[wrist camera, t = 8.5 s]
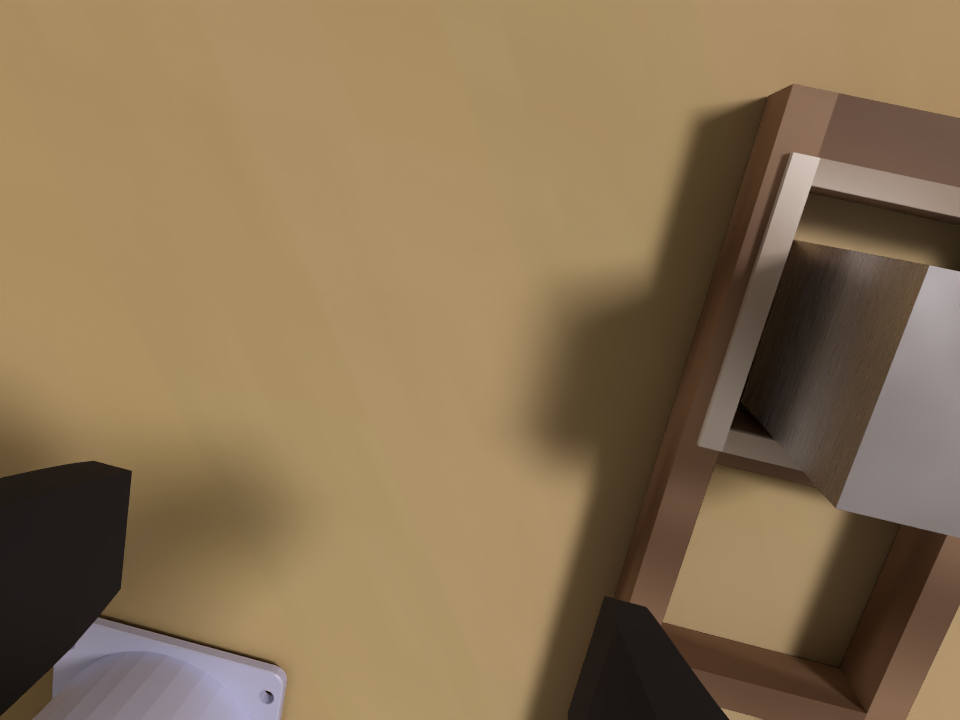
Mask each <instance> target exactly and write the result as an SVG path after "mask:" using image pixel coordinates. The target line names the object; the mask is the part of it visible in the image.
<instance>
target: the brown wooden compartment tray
mask: <svg viewBox="0 0 960 720" xmlns="http://www.w3.org/2000/svg"><path fill="white" fill-rule="evenodd" d="M809 192H810V193H814V194H819V195H824V196H828V197H833V198H837V199H842V200H847V201H851V202H856V203H861V204H865V205H870V206H875V207H879V208H884V209H888V210H893V211H898V212H902V213H907V214H912V215H916V216H921V217H925V218H930V219H935V220H939V221H944V222H949V223H953V224H958V225H960V118H956V117H951V116H946V115H941V114H937V113H932V112H927V111H922V110H917V109H912V108H908V107H903V106H898V105H893V104H888V103H883V102H879V101H874V100H869V99H864V98H859V97H854V96H850V95H845V94H840V93H835V92H830V91H825V90H821V89H816V88H811V87H806V86H801V85H796V84H792V85H790V86H788V87H786V88H784V89H782V90H780V91H778V92H775V93H773V94H771V95H769V96H768V99H767V102H766V105H765V108H764V112H763V115H762V118H761V121H760V125H759V128H758V131H757V134H756V138H755V141H754V144H753V147H752V151H751V154H750V157H749V160H748V164H747V167H746V170H745V173H744V177H743V180H742V183H741V186H740V190H739V193H738V196H737V199H736V203H735V206H734V209H733V212H732V216H731V219H730V222H729V225H728V229H727V232H726V235H725V238H724V242H723V245H722V248H721V251H720V255H719V258H718V261H717V264H716V268H715V271H714V274H713V277H712V281H711V284H710V287H709V290H708V294H707V297H706V300H705V303H704V307H703V310H702V313H701V316H700V320H699V323H698V326H697V329H696V333H695V336H694V339H693V342H692V346H691V349H690V352H689V355H688V359H687V362H686V365H685V368H684V372H683V375H682V378H681V381H680V385H679V388H678V391H677V394H676V398H675V401H674V404H673V407H672V411H671V414H670V417H669V420H668V424H667V427H666V430H665V433H664V437H663V440H662V443H661V446H660V450H659V453H658V456H657V459H656V463H655V466H654V469H653V472H652V476H651V479H650V482H649V485H648V489H647V492H646V495H645V498H644V502H643V505H642V508H641V511H640V515H639V518H638V521H637V524H636V528H635V531H634V534H633V537H632V541H631V544H630V547H629V550H628V554H627V557H626V560H625V563H624V567H623V570H622V573H621V576H620V580H619V583H618V586H617V589H616V593H615V596H614V599H618V600H622V601H626V602H630V603H633V604H637V605H641V606H645V607H647V608H648V609H649V611H650V612H651V613H652V614H653V616H654V617H655V618H656V620H657V621H658V623H659V624H660V625H661V627H662V628H663V630H664V631H665V632H666V634H667V635H668V637H669V638H670V639H671V641H672V642H673V644H674V645H675V646H676V648H677V649H678V651H679V652H680V653H681V655H682V656H683V658H684V659H685V660H686V662H687V663H688V665H689V666H690V667H691V669H692V670H693V672H694V673H695V674H696V676H697V677H698V679H699V680H700V681H701V683H702V684H703V685H704V687H705V688H706V690H707V691H708V692H709V694H710V695H711V696H712V698H713V699H714V700H715V702H716V703H717V704H718V706H719V707H720V708H724V709H728V710H732V711H735V712H739V713H743V714H747V715H750V716H754V717H758V718H762V719H766V720H906V718H907V716H908V714H909V712H910V709H911V707H912V705H913V703H914V701H915V699H916V697H917V695H918V692H919V690H920V688H921V686H922V684H923V682H924V680H925V678H926V675H927V673H928V671H929V669H930V667H931V665H932V663H933V660H934V658H935V656H936V654H937V652H938V650H939V648H940V646H941V643H942V641H943V639H944V637H945V635H946V633H947V631H948V629H949V626H950V624H951V622H952V620H953V618H954V616H955V614H956V611H957V609H958V607H959V605H960V538H958V537H954V536H950V535H945V534H941V533H937V532H933V531H928V530H924V529H920V528H916V527H912V526H907V525H903V524H901V526H900V529H899V531H898V533H897V536H896V538H895V540H894V543H893V545H892V547H891V550H890V552H889V554H888V557H887V559H886V561H885V564H884V566H883V568H882V571H881V573H880V575H879V578H878V580H877V582H876V585H875V587H874V589H873V592H872V594H871V597H870V599H869V601H868V604H867V606H866V608H865V611H864V613H863V615H862V618H861V620H860V622H859V625H858V627H857V629H856V632H855V634H854V636H853V639H852V641H851V643H850V646H849V648H848V650H847V653H846V655H845V658H844V660H843V662H842V665H841V667H840V668H837V667H833V666H829V665H825V664H821V663H817V662H813V661H810V660H806V659H802V658H798V657H794V656H790V655H786V654H782V653H778V652H775V651H771V650H767V649H763V648H759V647H755V646H751V645H747V644H743V643H740V642H736V641H732V640H728V639H724V638H720V637H716V636H712V635H709V634H705V633H701V632H697V631H693V630H689V629H685V628H681V627H677V626H674V625H670V624H666V623H662V622H663V619H664V616H665V613H666V610H667V607H668V604H669V601H670V598H671V595H672V592H673V589H674V586H675V583H676V580H677V577H678V574H679V571H680V568H681V565H682V562H683V559H684V556H685V553H686V550H687V547H688V544H689V541H690V538H691V535H692V532H693V529H694V526H695V523H696V520H697V517H698V514H699V511H700V508H701V505H702V502H703V499H704V496H705V493H706V490H707V487H708V484H709V481H710V478H711V475H712V472H713V469H714V466H715V463H717V464H721V465H725V466H730V467H734V468H738V469H742V470H746V471H750V472H754V473H759V474H763V475H767V476H771V477H775V478H779V479H783V480H787V481H792V482H796V483H800V484H804V485H808V486H812V487H816V486H815V484H814V483H813V482H812V481H811V480H810V479H809V478H808V476H807V475H806V474H805V473H804V472H803V471H802V470H801V469H800V467H799V466H798V465H797V464H796V463H795V462H794V461H793V460H792V458H791V457H790V456H789V455H788V454H787V453H786V452H785V450H784V449H783V448H782V447H781V446H780V445H779V444H778V443H777V441H776V440H775V439H774V438H773V437H772V436H771V435H770V433H769V432H768V431H767V430H766V429H765V428H764V427H763V426H762V424H761V423H760V422H759V421H758V420H757V419H756V418H755V417H754V415H751V414H746V413H742V412H738V411H736V409H737V406H738V403H739V400H740V397H741V394H742V391H743V388H744V385H745V382H746V379H747V376H748V373H749V370H750V367H751V364H752V361H753V358H754V355H755V352H756V349H757V346H758V343H759V340H760V337H761V334H762V331H763V328H764V325H765V322H766V319H767V316H768V313H769V310H770V307H771V304H772V301H773V298H774V295H775V292H776V289H777V286H778V283H779V280H780V277H781V274H782V272H783V269H784V266H785V263H786V260H787V257H788V254H789V251H790V248H791V245H792V242H793V239H794V236H795V233H796V230H797V227H798V224H799V221H800V218H801V215H802V212H803V209H804V206H805V203H806V200H807V197H808V194H809ZM816 488H817V487H816Z"/></svg>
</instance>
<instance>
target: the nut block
mask: <svg viewBox="0 0 960 720" xmlns="http://www.w3.org/2000/svg"><path fill="white" fill-rule="evenodd" d="M741 402H742V403H743V404H744V405H745V406H746V407H747V409H748V410H749V411H750V412H751V413H752V414H753V415H754V417H755V418H756V419H757V420H758V421H759V422H760V423H761V424H762V426H763V427H764V428H765V429H766V430H767V431H768V432H769V433H770V435H771V436H772V437H773V438H774V439H775V440H776V441H777V443H778V444H779V445H780V446H781V447H782V448H783V449H784V450H785V452H786V453H787V454H788V455H789V456H790V457H791V458H792V460H793V461H794V462H795V463H796V464H797V465H798V466H799V467H800V469H801V470H802V471H803V472H804V473H805V474H806V475H807V476H808V478H809V479H810V480H811V481H812V482H813V483H814V484H815V486H816V487H817V488H818V489H819V490H820V491H821V492H822V493H823V495H824V496H825V497H826V498H827V499H828V500H829V501H830V503H831V504H832V505H833V506H834V507H835V508H836V509H840V510H844V511H848V512H853V513H857V514H861V515H865V516H870V517H874V518H878V519H882V520H886V521H891V522H895V523H899V524H903V525H907V526H912V527H916V528H920V529H924V530H928V531H933V532H937V533H941V534H945V535H950V536H954V537H958V538H960V272H959V271H954V270H950V269H945V268H940V267H936V266H931V265H926V264H920V263H915V262H910V261H904V260H899V259H893V258H888V257H883V256H877V255H872V254H867V253H861V252H856V251H851V250H845V249H840V248H835V247H829V246H824V245H819V244H813V243H808V242H803V241H797V240H794V242H793V245H792V248H791V251H790V254H789V257H788V260H787V263H786V266H785V269H784V272H783V275H782V278H781V281H780V285H779V288H778V291H777V294H776V297H775V300H774V303H773V306H772V309H771V312H770V315H769V318H768V321H767V324H766V327H765V330H764V333H763V336H762V339H761V342H760V345H759V348H758V352H757V355H756V358H755V361H754V364H753V367H752V370H751V373H750V376H749V379H748V382H747V385H746V388H745V391H744V394H743V397H742V400H741Z"/></svg>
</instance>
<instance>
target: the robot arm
mask: <svg viewBox="0 0 960 720" xmlns="http://www.w3.org/2000/svg"><path fill="white" fill-rule="evenodd" d="M131 475H132V471H130V470H126V469H123V468H119V467H115V466H111V465H107V464H104V463H100V462H96V461H88V462H80V463H73V464H66V465H61V466H55V467H50V468H45V469H40V470H35V471H31V472H26V473H21V474H17V475H12V476H7V477H3V478H0V716H1V715H2V714H3V713H4V712H5V711H6V710H7V709H8V708H9V707H11V706H12V705H13V704H14V703H15V702H16V701H17V700H18V699H19V698H20V697H21V696H22V695H23V694H24V693H25V692H26V691H28V690H29V689H30V688H31V687H32V686H33V685H34V684H35V683H36V682H37V681H38V680H39V679H40V678H41V677H42V676H43V675H44V674H45V673H46V672H47V671H48V670H49V669H51V668H52V667H53V666H54V668H53V688H52V700H51V701H50V702H49V703H48V704H47V705H46V706H45V707H44V708H43V709H42V710H41V711H40V712H39V713H38V714H37V715H36V716H35V717H34V718H33V719H32V720H281V715H282V709H283V703H284V697H285V691H286V684H287V676H286V674H285V672H284V671H283V670H282V669H281V668H280V667H278V666H276V665H273V664H269V663H265V662H261V661H258V660H254V659H250V658H247V657H243V656H239V655H236V654H232V653H228V652H224V651H221V650H217V649H213V648H210V647H206V646H202V645H199V644H195V643H191V642H188V641H184V640H180V639H176V638H173V637H169V636H165V635H162V634H158V633H154V632H151V631H147V630H143V629H139V628H136V627H132V626H128V625H125V624H121V623H117V622H114V621H110V620H106V619H103V618H99V615H100V614H101V613H102V612H103V610H104V609H105V608H106V606H107V605H108V604H109V603H110V601H111V600H112V599H113V598H114V596H115V595H116V594H117V593H118V591H119V590H120V589H121V579H122V569H123V558H124V548H125V537H126V527H127V517H128V506H129V496H130V485H131ZM265 691H269V692H271V693H272V694H273V695H269V694H267V693H266V692H265ZM568 720H729V719H728V717H727V716H726V715H725V714H724V712H723V711H722V710H721V708H720V707H719V706H718V704H717V703H716V702H715V700H714V699H713V698H712V696H711V695H710V694H709V692H708V691H707V690H706V688H705V687H704V685H703V684H702V683H701V681H700V680H699V679H698V677H697V676H696V674H695V673H694V672H693V670H692V669H691V667H690V666H689V665H688V663H687V662H686V660H685V659H684V658H683V656H682V655H681V653H680V652H679V651H678V649H677V648H676V646H675V645H674V644H673V642H672V641H671V639H670V638H669V637H668V635H667V634H666V632H665V631H664V630H663V628H662V627H661V625H660V624H659V623H658V621H657V620H656V618H655V617H654V616H653V614H652V613H651V612H650V611H649V609H648V608H647V607H645V606H641V605H637V604H633V603H630V602H626V601H622V600H618V599H614V598H611V597H607V596H605V597H604V600H603V603H602V606H601V609H600V613H599V616H598V619H597V622H596V625H595V629H594V632H593V635H592V638H591V641H590V644H589V648H588V651H587V654H586V657H585V660H584V663H583V667H582V670H581V673H580V676H579V679H578V683H577V686H576V689H575V692H574V695H573V698H572V702H571V705H570V708H569V711H568Z"/></svg>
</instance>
